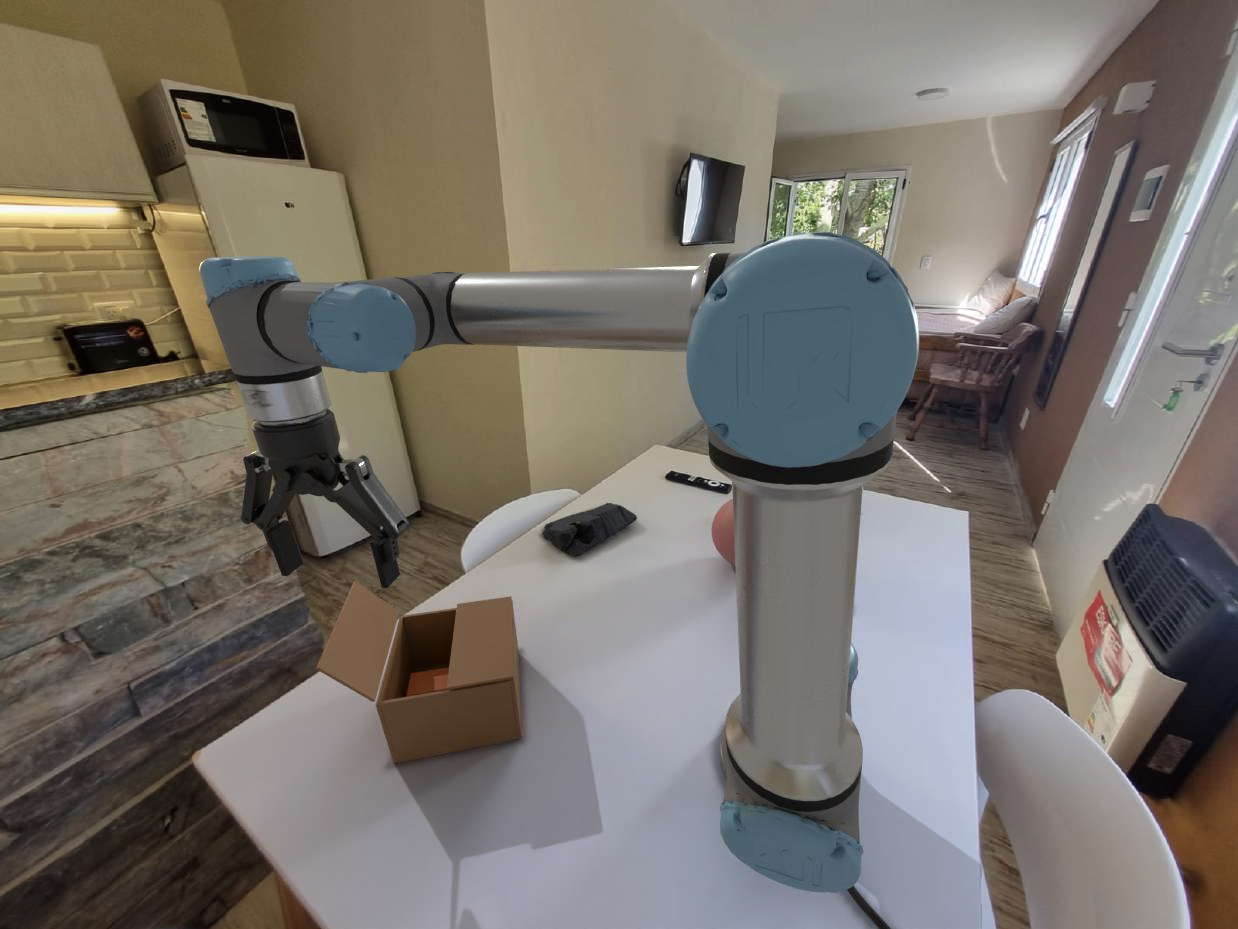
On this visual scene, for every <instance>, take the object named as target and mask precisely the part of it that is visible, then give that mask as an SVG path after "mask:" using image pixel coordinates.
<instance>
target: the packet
mask: <svg viewBox="0 0 1238 929" xmlns="http://www.w3.org/2000/svg"><path fill="white" fill-rule="evenodd" d="M448 673H449V667H447V668H441V669H435V670H429V671H423V672H417V673H411V676H410V681H409V686H408V690H407V695H406V696H407V697H408V696H414V695H420V694H425V693H431V692H437V691H443V690H447V681H448Z"/></svg>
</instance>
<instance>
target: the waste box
mask: <svg viewBox="0 0 1238 929" xmlns="http://www.w3.org/2000/svg"><path fill="white" fill-rule="evenodd" d="M387 658H388V659H387V661H386V664H385V665H386V666H385V668H384V672H383V675H382V679H381V682H380V684H381V685H380V686H379V690H378V693H377V694H378V695H377V697H376V698H377V699H376V702H375V708H376V711H377V714H378V718H379V721H380V724H381V728H382V732H383V733H384V737H385V740H386V744H387V746H388V750H389V752H390V756H391V760H392V763H393V764H400V763H405V762H409V761H416V760H419V759H425V758H431V757H436V756H440V755H445V754H451V753H456V752H460V751H465V750H471V749H476V748H481V747H486V746H491V745H496V744H500V743H507V742H511V741H517V740H521V739H523V736H522V735H523V734H522V705H521V704H522V703H521V682H520V681H521V680H520V679H521V678H520V677H521V676H520V652H519V644H518V636H517V627H516V617H515V610H514V601H513V598H512V596H503V597H495V598H490V599H481V600H476V601H468V602H461V603H460V602H459V603H457V604H456V607H453V608H445V609H439V610H432V611H431V610H430V611H424V612H419V613H418V612H417V613H411V614H404V615H403V614H402V615H399V617H398V620H397V624H396V628H395V631H394V635H393V639H392V642H391V646H390V650H389V653H388V657H387ZM447 667H449V673H448V681H447V690H443V691H437V692H431V693H425V694H420V695H414V696H408V697H407V696H406V695H407V690H408V686H409V681H410V676H411V673H417V672H423V671H429V670H435V669H441V668H447Z"/></svg>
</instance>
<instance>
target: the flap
mask: <svg viewBox="0 0 1238 929" xmlns="http://www.w3.org/2000/svg"><path fill="white" fill-rule="evenodd" d="M399 617H400V611H399V610H397V609H396V608H395V607H393V606H392V605H390V604H389V603H388V602H386V601H385V600H383V599H382V598H381V597H379V596H378V595H377V594H375V593H374V592H372V591H371V590H369V589H368V588H367V587H365V586H364V585H362V584H360V582H358V581H357V580H354V581H353V582H352V585H351V587H350V588H349V591H348V594H347V596H346V598H345V600H344V603H343V605H342V607H341V610H340V612H339V615H338V617H337V619H336V621H335V623H334V625H333V628H332V631H331V632H330V635H329V636H328V639H327V642H326V644H325V646H324V649H323V652H322V653H321V655H320V658H319V661H318V663H317V665H316V667H315V670H316V671H318V672H320V673H322V674H323V675H325V676H327V677H329V678H331V679H332V680H333V681H336V682H337V683H339V684H340V685H342V686H344V687H346V688H348V689H350V690H351V691H353V692H355V693H357V694H358V695H360V696H361V697H364V698H365V699H367V700H368V701H370V702H371V703H373V702H375V701H376V698H377V696H378V695H377V694H378V692H379V689H380V684H381V681H382V678H383V674H384V671H385V667H386V666H385V665H386V663H387V660H388V659H387V658H388V656H389V653H390V649H391V645H392V642H393V638H394V635H395V631H396V627H397V624H398V620H399Z"/></svg>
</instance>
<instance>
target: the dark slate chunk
mask: <svg viewBox="0 0 1238 929" xmlns="http://www.w3.org/2000/svg"><path fill="white" fill-rule="evenodd" d="M637 519H638V516H637V514H635V513H634V512H632V511H631V510H630V509H627V508H626V507H625V506H623V505H621V504H617V503H612V502H606V503H604V504H602V505H599V506H598V507H597V506H596V507H595V508H591V509H588V510H585V511H580V512H577V513H573V514H570V515H566V516H564V517H562V518H561V517H560V518H558V519H556V520H554V521H550V522H548V523H546V524H545V525H544V527H543V529H544V530H542V532H541V533H542V536H543V538H544V539H545V540H548V541H549V542H550V543H551V544H552V545H553V547H555V548H556V549H558V550H559V551H562V552H567V554H570V555H572V556H573V557H575V556H576V557H579V556H581V555H583V553H585V552H587V551H588V550H591V549H593V548H595V547H598V545H601V544H603V543H605V542H606V541H607V540H608V539H609V538H612V537H613V536H615V535H617V534H618V533H619V532H621V531H623V530H625V529H626V528H627V527H628V526H630V525H631V524H633V523H635V522H636V521H637ZM575 539H579V540H580V541H581V542H583V543H586V544H580V543H579V542H578V541H576V540H575Z"/></svg>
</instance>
